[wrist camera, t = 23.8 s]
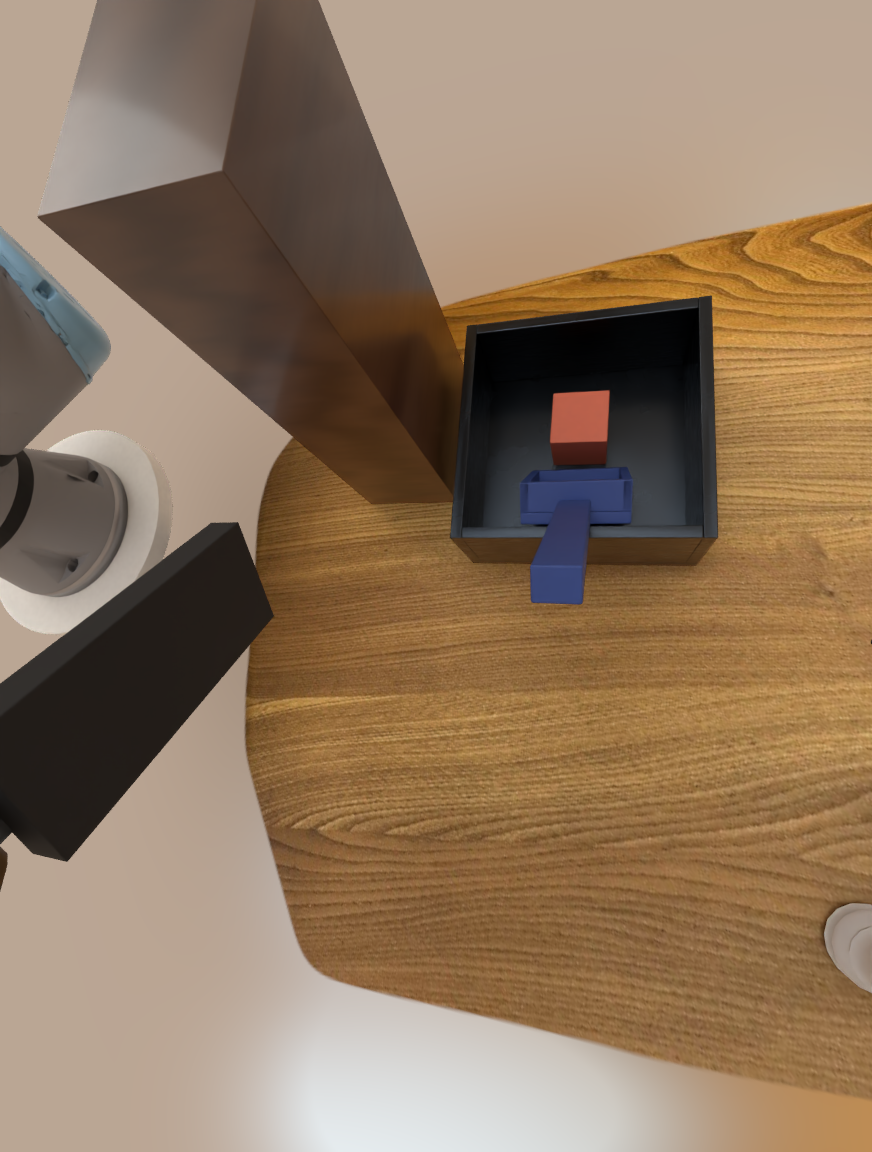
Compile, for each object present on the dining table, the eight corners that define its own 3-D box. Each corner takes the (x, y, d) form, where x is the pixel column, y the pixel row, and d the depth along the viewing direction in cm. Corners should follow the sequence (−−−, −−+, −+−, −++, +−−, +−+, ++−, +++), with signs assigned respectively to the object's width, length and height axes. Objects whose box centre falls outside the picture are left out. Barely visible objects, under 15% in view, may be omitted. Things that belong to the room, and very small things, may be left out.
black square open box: (472, 563, 43) (449, 537, 36) (485, 380, 46) (466, 325, 39) (696, 565, 38) (718, 537, 31) (692, 361, 41) (712, 295, 34)
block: (556, 419, 43) (553, 465, 42) (553, 392, 39) (549, 443, 38) (608, 417, 41) (606, 464, 41) (609, 389, 38) (607, 441, 37)
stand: (371, 504, 47) (35, 217, 19) (384, 382, 49) (105, -33, 21) (457, 502, 44) (222, 170, 16) (467, 374, 47) (277, -105, 19)
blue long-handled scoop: (469, 601, 22) (466, 534, 21) (532, 506, 42) (532, 470, 41) (652, 607, 20) (656, 534, 19) (626, 504, 40) (627, 466, 39)
